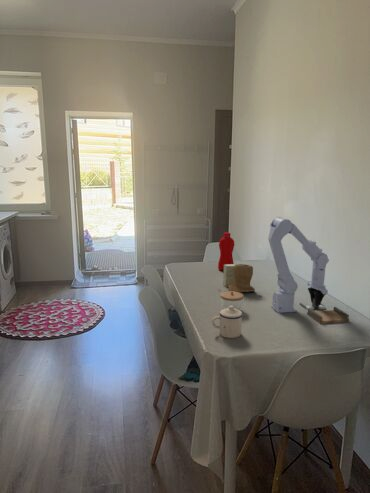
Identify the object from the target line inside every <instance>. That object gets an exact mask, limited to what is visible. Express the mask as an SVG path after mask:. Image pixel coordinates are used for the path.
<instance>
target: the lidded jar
mask: <svg viewBox="0 0 370 493" xmlns="http://www.w3.org/2000/svg"><path fill="white" fill-rule="evenodd" d="M243 302H244V293H242V292H234V291H229V290H226V291H223V292H221V293H220V305H221V307H222V310H223V309H226V308H229V306H233V307H234V308H235V309H237V310H241V308H242V306H243Z"/></svg>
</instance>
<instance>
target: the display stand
mask: <svg viewBox="0 0 370 493" xmlns="http://www.w3.org/2000/svg"><path fill="white" fill-rule="evenodd" d="M306 315H307V316H309V318H311V319H312V320H314V321H316V322H317V323H318V324H320V325H323V324H324V325H325V324H336V323H337V324H338V323H339V324H340V323H349V322H350V314H348V313H346V312H345V311H343V310H341V309H340V308H338V307H337V306H333V309H331V310H317V311H315V310H312V309H308V310H307V312H306ZM348 321H349V322H348Z"/></svg>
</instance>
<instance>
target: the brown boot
mask: <svg viewBox="0 0 370 493" xmlns="http://www.w3.org/2000/svg"><path fill="white" fill-rule="evenodd" d="M234 265H235V266H234V277H235V283H234V284H233V285H229V287H228V291H234V292H239V293H249V292H250V293H251V292H252V293H253V292H255V291H256V288H255V287H254V286H251V280H252V278H253V276H254V267H253V266H252V265H251V264H244V263H236V264H234Z"/></svg>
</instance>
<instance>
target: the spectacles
mask: <svg viewBox="0 0 370 493" xmlns="http://www.w3.org/2000/svg"><path fill="white" fill-rule="evenodd" d="M299 306H301V307H302V308H304V309H305V310H307V311H308V309H312V310H313V311H315V310H325V309H326V305H324V304H323V303H321V304H320V305H319V306H316V305H315V298H313V302H312V303H311V305H304V304H303V303H301V302H300V303H299Z"/></svg>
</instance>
